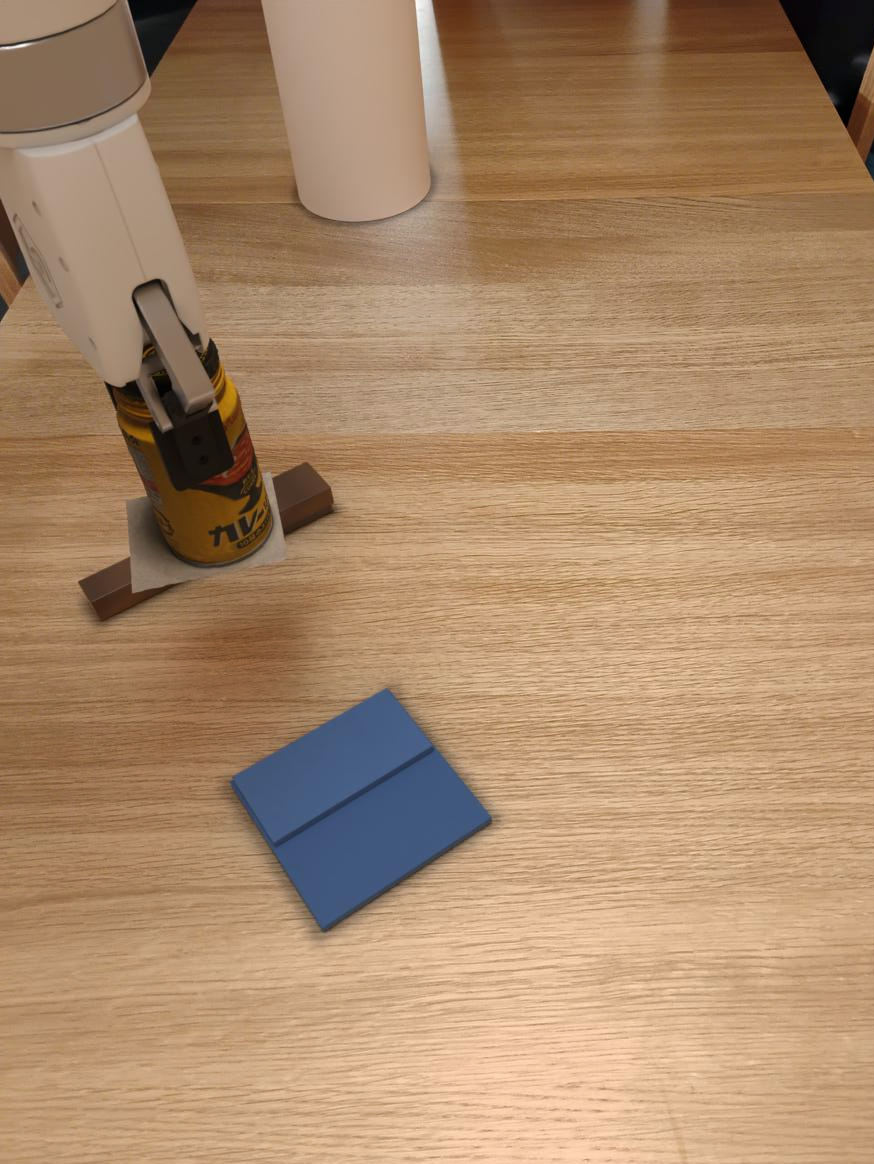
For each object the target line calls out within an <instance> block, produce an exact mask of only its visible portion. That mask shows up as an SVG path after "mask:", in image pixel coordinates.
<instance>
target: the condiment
mask: <svg viewBox="0 0 874 1164" xmlns="http://www.w3.org/2000/svg"><path fill="white" fill-rule="evenodd" d="M194 350H195V349H194ZM195 352H196V354H197V356H198V357H199V359H200V361H201V363H202V365H203V367H204V369H205V371H206V373H207V375H208V377H209V378H210V380H211V382H212V385H213V387H214V390H215V396H214V397H215V399H216V402H217V405H218V410H219V413H220V416H221V419H222V422H223V426H224V429H225V432H226V435H227V438H228V442H229V445H230V448H231V451H232V454H233V458H234V462H235V463H234V466H233V467H232V468H231V469H229V470H227V471H225V472H223V473H221V474H219V475H217V476H215V477H212V478H210V479H208V480H206V481H204V482H202V483H200V484H197V485H195V486H193V487H191V488H189V489H187V490H185V491H177V490H176V489H175V488H174V487H173V485H172V484H171V483H170V480H169V478H168V475H167V472H166V470H165V467H164V465H163V462H162V460H161V457H160V454H159V452H158V449H157V447H156V444H155V441H154V439H153V436H152V434H151V431H150V429H149V426H148V423H150V422H152V421H154V419H153V417H152V415H151V413H150V411H149V409H148V406H147V404H146V402H145V400H144V398H143V396H142V394H141V391H140V389H139V387H138V385H137V383H136V381H135V380H132V381H130V382H127V383H126V385H125V386H123V387H117V386H114V385H111V386H112V387H113V394H114V398H115V400H116V402H117V412H116V413H115V416H116V417H115V418H116V422H117V425H118V428H119V429H120V433H121V435H122V437H123V439H124V442H125V444H126V449H127V450H128V453H129V455H130V456H131V458H132V461H133V463H134V465H135V468H136V471H137V473H138V475H139V478H140V480H141V482H142V485H143V487H144V490H145V493H146V495H145V496H139V497H137V498H136V497H135V498H131V499H126V500H125V509H126V519H127V532H128V544H129V545H128V546H129V547H128V548H129V554H130V556H129V557H130V563H131V577H132V578H131V582H132V593H135V592H140V591H144V590H147V589H152V588H159V587H163V586H165V585H169V584H175V583H177V584H179V583H180V584H181V583H184V582H187V581H193V580H194V581H195V580H199V579H204V578H211V577H217V576H221V575H225V574H230V573H233V572H234V573H235V572H239V571H244V570H249V569H252V568H253V569H254V568H258V567H261V566H265V565H271V564H276V563H279V562H282V561H284V560H287V559H289V555H288V550H287V545H286V541H285V535H283V530H282V524H281V519H280V515H279V510H278V505H277V500H276V495H275V490H274V485H273V480H272V478H273V477H272V476H273V475H272V472H271V471H267V472H261V469H260V465H259V460H258V456H257V455H256V451H255V447H254V444H253V441H252V438H251V435H250V430H249V427H248V422H247V421H246V418H245V413H244V411H243V407H242V400H241V396H240V394H239V392H238V389H237V387H236V385H235V384H234V382H233V380H232V379H231V378H230V377H228V376H227V375H226V371H225V369H224V365H223V364H222V362H221V359H220V356H219V349H218V348H217V344H216V343H215V341H214V340H213V339H212V338H211V337H210V339H209V343H208V346H207V348H206V350H205V352H203V353H200V352H198V351H197V350H195ZM154 353H156V350H155V348H154V346H153V344H152V342H149V343H147V344H144V345H143V354H142V358H144V357H146V356H149V355H151V354H154ZM151 377H152V379H153V381H154V383H155V386H156V388H157V390H158V392H159V394H160V397H161V399H162V401H163V398H164V395H165V393H167V392H169V391H171V390H173V389H172V382H171V379H170V377H169V375H168V373H167V371H166V370H163V371H161V372H158V373H156V374H154V375H151ZM175 585H176V584H175Z"/></svg>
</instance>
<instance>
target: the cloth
mask: <svg viewBox="0 0 874 1164" xmlns="http://www.w3.org/2000/svg"><path fill="white" fill-rule="evenodd" d="M231 779H232V780H230V781H229V784H230V786H231V788H232V789H233V791H234V792H235V794H236V796H237V798H238V799H239V800H240V802H241V803H242V806H243V807H244V809H245V810H246V812H247V813H248V815H249V817H250V818H251V819H252V821H253V822H254V825H255V826H256V827H257V829H258V830H259V832H260V834H261V835H262V837H263V838H264V840H265V842H266V843H267V845H268V846H269V848H270V850H271V851H272V853H273V855H274V856H275V858H276V859H277V861H278V863H279V864H280V865H281V868H282V869H283V870H284V872H285V873H286V875H287V876H288V879H289V880H290V882H291V883H292V885H293V887H294V888H295V890H296V891H297V893H298V895H300V897H301V899H302V901H303V902H304V904H305V905H306V907H307V909H308V910H309V912H310V913H311V915H312V916H313V918H314V920H315V921H316V923H317V924H318V926H319V927H320V929H321V931H322V932H326V931H328V930H329V929H331V928H332V927H334V926H335V925H338V923H340V922H342V921H343V920H344V919H346V918H348V917H349V916H351V915H352V914H354V913H355V912H356V911H358V910H360V909H361V908H363V907H365V906H367V904H369V903H371V902H373V900H375V899H377V898H378V897H380V896H381V895H382V894H384V893H386V892H388V891H389V890H390V889H392V888H393V887H395V886H397V885H398V884H400V883H402V882H403V881H404V880H405V879H407V878H409V877H410V876H412V875H413V874H415V873H416V872H418V871H419V870H421V869H422V868H424V867H425V866H427V865H428V864H430V863H431V862H433V861H434V860H436V859H438V858H439V857H440V856H442V855H443V854H445V853H446V852H448V851H450V850H452V848H454V847H456V846H457V845H459V844H460V843H462V842H464V841H465V840H467V839H468V838H469V837H471V836H472V835H474V834H476V833H478V832H479V831H480V830H482V829H483V828H485V827H486V826H488V825H489V824H491V823H492V822H493V821H492V820H493V818H492V816H491V814H490V813H489V812H488V811H487V810H486V809H487V808H485V807H484V805H482V803H481V802H480V801H479V800H478V798H477V797H476V796H475V794H474V793H473V792H472V791H471V789H469V787H468V786H467V784H466V783H465V782H464V781H463V780H462V778H461V777H460V776H459V774H457V772H456V771H455V770H454V768H453V767H452V766H451V765H450V764H449V762H448V761H447V759H446V758H445V757H444V756H443V755H442V753H441V752H440V751H439V750H438V749H437V748H436V745H434V744H433V742H432V741H431V740H430V739H429V737H428V736H427V734H426V733H425V732H424V731H423V730H422V729H421V728H420V726H419V725H418V724H417V722H416V721H415V720H414V719H413V718H412V716H411V715H410V714H409V713H408V711H407V710H406V709H405V707H403V705H402V704H401V702H400V701H399V700H398V699H397V698H396V697H395V695H394V694H393V692H392V691H391V690H390V689H388V688H387V687H386V688H383V689H382V690H380V691H379V692H377V693H375V694H373V695H372V696H370V697H368V698H366V699H365V700H363V701H361V702H359V703H357V704H356V705H355V706H353V707H351V708H350V709H348V710H346V711H344V712H342V713H340V714H339V715H337V716H335V717H333V718H332V719H330V720H328V721H326V722H325V723H323V724H321V725H320V726H318V727H316V728H314V729H313V730H311V731H309V732H307V733H306V734H304V735H302V736H301V737H299V738H296V740H294V741H292V742H290V743H288V744H287V745H285V746H283V747H282V748H280V749H278V750H276V751H274V752H273V753H271V754H270V755H267V756H266V757H264V758H263V759H261V760H259V761H257V762H256V763H254V764H252V765H250V766H249V767H247V768H245V769H243V770H242V771H240V772H238V773H237V774H235V775H233V776H232V777H231Z"/></svg>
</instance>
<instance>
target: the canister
mask: <svg viewBox="0 0 874 1164" xmlns="http://www.w3.org/2000/svg"><path fill="white" fill-rule="evenodd" d="M261 7H262V12H263V17H264V22H265V28H266V33H267V38H268V43H269V48H270V53H271V58H272V63H273V69H274V74H275V79H276V85H277V90H278V95H279V101H280V105H281V111H282V116H283V121H284V126H285V132H286V136H287V142H288V148H289V152H290V157H291V163H292V167H293V173H294V178H295V183H296V189H297V194H298V199H299V201H300V203H301V204H302V205H303V207H304V208H305V209H306V210H307V211H309V212H310V213H312V214H314V215H316V216H319V217H322V218H325V219H329V220H332V221H338V222H339V221H340V222H350V223H351V222H352V223H354V222H355V223H357V222H359V223H360V222H370V221H377V220H382V219H387V218H391V217H394V216H397V215H399V214H402V213H404V212H406V211H408V210H410V209H412V208H414V207H415V206H417V205H418V204H420V203H421V202H422V201H423V200H424V199H425V197H426V196H427V195H428V194H429V192H430V189H431V185H432V184H431V183H432V181H431V168H430V158H429V157H430V156H429V145H428V134H427V122H426V111H425V99H424V87H423V74H422V63H421V50H420V39H419V27H418V16H417V15H418V14H417V3H416V0H261Z"/></svg>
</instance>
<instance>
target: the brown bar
mask: <svg viewBox="0 0 874 1164" xmlns="http://www.w3.org/2000/svg"><path fill="white" fill-rule="evenodd" d="M272 480H273V485H274V490H275V495H276V500H277V505H278V510H279V515H280V519H281V524H282V530H283V535H284V536H286V535H288V534H290V533H292V532H294V531H296V530H298V529H300V528H302V527H304V526H306V525H308V524H310V523H312V522H314V521H316V520H318V519H320V518H322V517H324V516H326V515H328V514H330V513H332V512H333V506H332V505H333V504H335V500H334V496H333V491H332V487H331V486H330V485H329V484H328V483H327V481H326V480H325V479H324V478H323V477H322V476H321V474H320V473H319V472H318V471H317V470H316V469H315V468H314V467H313V466H312V465H311V464H310V462H309V461H304V462H303V463H301V464H299V465H296V466H295V467H292V468H290V469H288V470H286V471H283V472H281V473H279V474H278V475H275V476H273V477H272ZM131 578H132V577H131V563H130V556H128V557H126V558H124V559H122V560H120V561H118V562H115V563H114V564H111V565H109V566H107V567H105V568H104V569H103V568H102V569H101V570H98V571H97V572H95V573H92V574H90V575H88V576H86V577H84V578H82V579H80V580H78V581H77V583H78V585H79V587H80V589H81V592H82V593H83V595H84V597H85V598H86V600H87V602H88V604H89V605H90V607H91V609H92V610H93V612H94V614H95V615H96V617H97V619H98V621H100V622H103V621H105V620H106V619H109V618H111V617H113V616H115V615H117V614H119V613H121V612H123V611H125V610H127V609H129V608H131V607H133V606H135V605H137V604H139V603H141V602H143V601H145V600H147V599H149V598H151V597H153V596H156V595H158V594H159V593H162V592H163V591H165V590H168V589H169V588H172V587H173V586H176V585H177V584H178V583H175V584H169V585H165V586H163V587H159V588H152V589H147V590H144V591H140V592H135V593H132V582H131Z"/></svg>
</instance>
